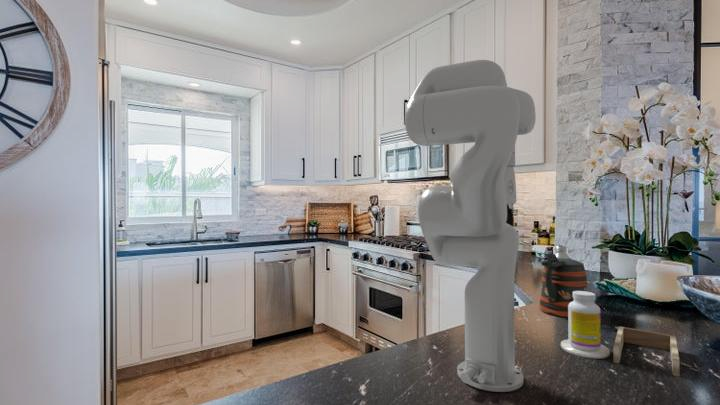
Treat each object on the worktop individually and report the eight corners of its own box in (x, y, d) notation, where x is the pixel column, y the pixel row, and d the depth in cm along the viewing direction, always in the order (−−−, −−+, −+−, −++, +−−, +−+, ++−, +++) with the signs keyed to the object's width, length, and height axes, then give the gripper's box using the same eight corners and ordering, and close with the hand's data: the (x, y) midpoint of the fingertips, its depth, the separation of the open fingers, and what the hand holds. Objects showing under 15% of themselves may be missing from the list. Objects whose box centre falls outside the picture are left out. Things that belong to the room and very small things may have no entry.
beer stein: (579, 325, 106) (578, 256, 106) (526, 314, 116) (526, 251, 116) (596, 312, 119) (595, 250, 119) (548, 303, 129) (547, 246, 129)
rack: (679, 376, 74) (679, 359, 74) (613, 362, 81) (613, 346, 81) (675, 350, 87) (675, 335, 87) (619, 339, 94) (619, 326, 94)
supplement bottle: (606, 353, 84) (605, 297, 84) (574, 351, 85) (573, 295, 85) (593, 342, 90) (593, 290, 90) (564, 340, 92) (564, 289, 92)
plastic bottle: (572, 300, 133) (571, 245, 133) (571, 304, 127) (570, 247, 127) (552, 298, 136) (551, 244, 137) (550, 302, 131) (549, 246, 131)
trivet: (607, 362, 81) (607, 358, 81) (557, 351, 87) (556, 348, 87) (611, 348, 89) (611, 345, 89) (564, 339, 95) (564, 336, 95)
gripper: (501, 156, 86) (502, 228, 86) (525, 163, 99) (526, 226, 99) (471, 159, 91) (471, 227, 91) (497, 165, 104) (498, 225, 104)
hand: (500, 226), depth 95 cm, fingers open, 9 cm apart
